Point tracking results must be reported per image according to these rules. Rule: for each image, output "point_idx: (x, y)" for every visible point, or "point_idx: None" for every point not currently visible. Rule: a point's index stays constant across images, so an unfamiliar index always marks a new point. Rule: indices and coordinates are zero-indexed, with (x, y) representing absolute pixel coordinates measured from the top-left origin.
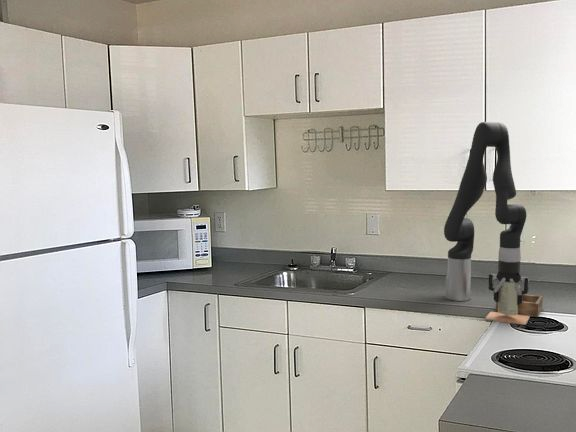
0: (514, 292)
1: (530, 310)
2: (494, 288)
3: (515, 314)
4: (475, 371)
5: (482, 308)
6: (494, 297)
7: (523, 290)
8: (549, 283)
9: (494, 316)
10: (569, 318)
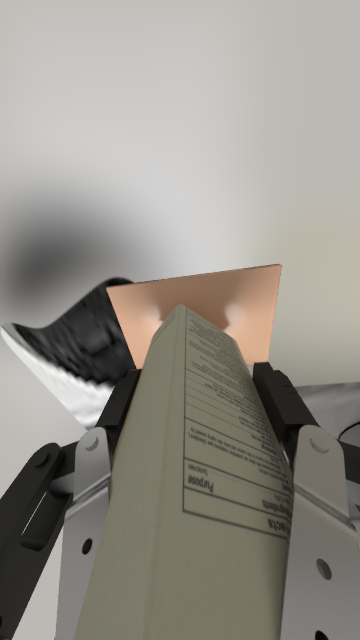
0: (127, 444)
1: None
2: (346, 477)
3: (157, 331)
4: None
5: (297, 387)
6: (287, 386)
7: (71, 484)
8: None
9: (243, 315)
10: (63, 400)
